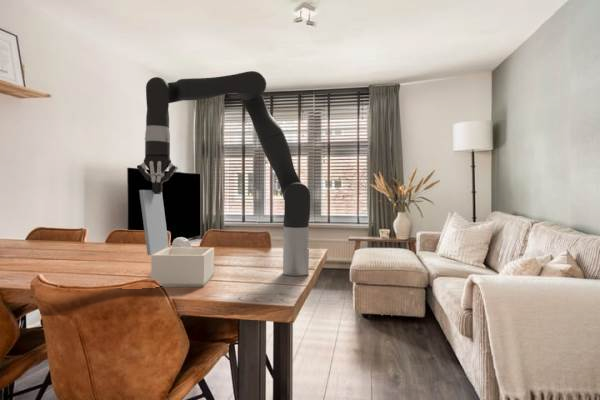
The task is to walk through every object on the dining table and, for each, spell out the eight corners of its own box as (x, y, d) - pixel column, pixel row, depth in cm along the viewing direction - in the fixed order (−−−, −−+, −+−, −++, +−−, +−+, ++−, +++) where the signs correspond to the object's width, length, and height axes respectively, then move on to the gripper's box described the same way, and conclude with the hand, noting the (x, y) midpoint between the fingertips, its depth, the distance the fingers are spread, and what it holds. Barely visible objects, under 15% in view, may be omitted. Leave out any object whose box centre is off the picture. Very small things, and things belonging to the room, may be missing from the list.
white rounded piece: (170, 268, 137) (171, 236, 137) (181, 267, 140) (181, 235, 140) (180, 273, 129) (181, 239, 129) (192, 271, 132) (192, 238, 132)
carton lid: (161, 190, 125) (158, 190, 125) (142, 189, 108) (139, 190, 108) (168, 246, 126) (165, 247, 126) (150, 254, 109) (147, 255, 109)
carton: (214, 275, 126) (214, 247, 126) (203, 287, 110) (204, 255, 110) (168, 275, 125) (168, 247, 125) (151, 287, 109) (151, 255, 109)
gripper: (181, 143, 121) (181, 194, 121) (141, 142, 120) (141, 193, 120) (174, 140, 113) (174, 194, 113) (132, 139, 113) (131, 193, 113)
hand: (157, 194), depth 117 cm, fingers closed
